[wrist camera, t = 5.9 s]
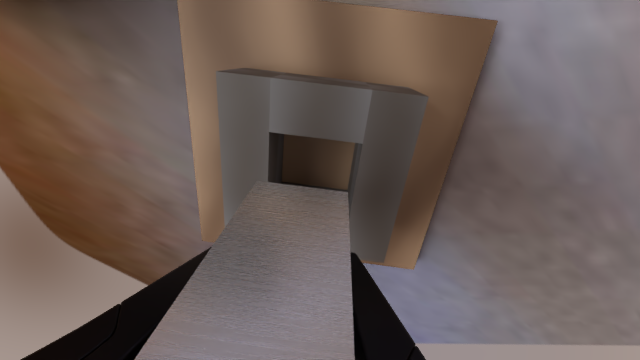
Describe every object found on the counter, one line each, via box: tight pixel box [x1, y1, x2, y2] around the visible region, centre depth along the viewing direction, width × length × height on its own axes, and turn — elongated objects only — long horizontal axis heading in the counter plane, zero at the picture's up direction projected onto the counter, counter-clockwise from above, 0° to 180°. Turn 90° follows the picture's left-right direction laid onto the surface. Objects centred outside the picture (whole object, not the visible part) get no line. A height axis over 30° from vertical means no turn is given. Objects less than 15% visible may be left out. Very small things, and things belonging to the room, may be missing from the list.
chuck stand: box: [177, 0, 498, 270], centre depth 16 cm, size 17×17×6 cm
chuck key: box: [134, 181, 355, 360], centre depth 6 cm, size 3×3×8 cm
